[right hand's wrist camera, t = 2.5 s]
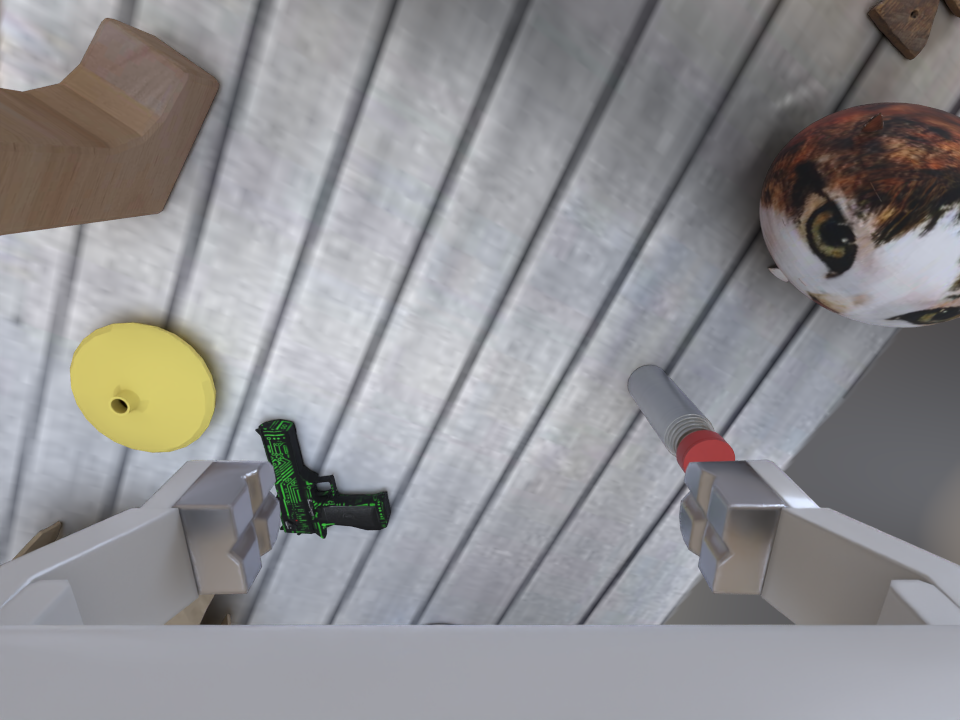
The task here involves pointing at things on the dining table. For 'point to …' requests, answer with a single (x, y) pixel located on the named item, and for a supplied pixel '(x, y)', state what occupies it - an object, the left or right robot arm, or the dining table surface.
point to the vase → (142, 387)
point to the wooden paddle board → (908, 22)
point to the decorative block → (101, 134)
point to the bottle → (665, 406)
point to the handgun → (314, 490)
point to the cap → (703, 448)
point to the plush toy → (870, 214)
